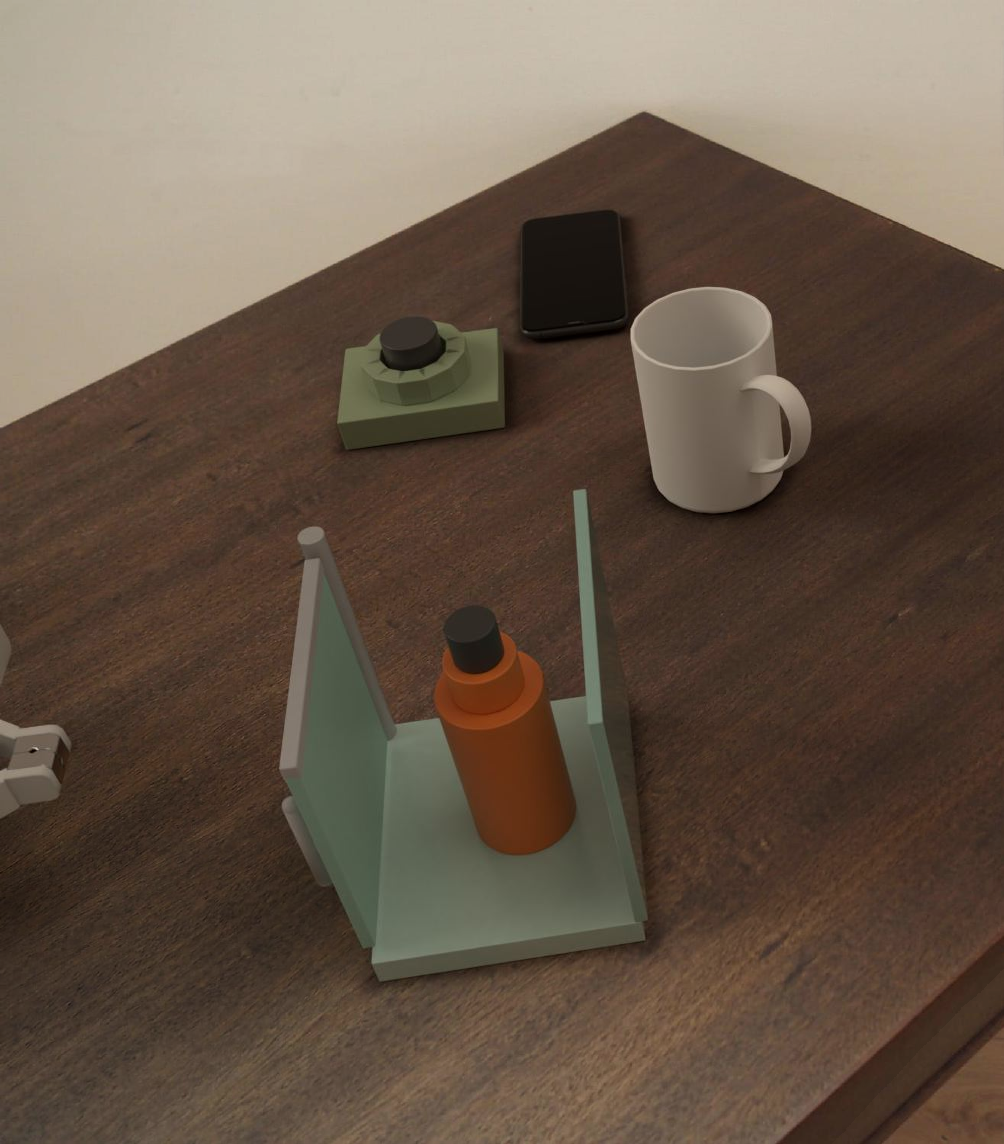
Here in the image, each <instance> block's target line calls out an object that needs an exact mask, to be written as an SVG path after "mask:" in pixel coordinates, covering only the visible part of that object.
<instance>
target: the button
mask: <svg viewBox="0 0 1004 1144" xmlns="http://www.w3.org/2000/svg"><path fill="white" fill-rule="evenodd" d="M433 321H434V320H432V319H431V318H428V317H424V316H419V315H418V316H417V315H416V316H415V315H414V316H406V317H401V318H399V319H396V320H394V321H392V322H390V323H388V324H387V325H386V326H384V328H383V329H382V330H381V332H380V333H379V334H380V337H379V340H380V343H381V347H382V350H383V353H384V357H385V360H386V363H387V365H388V366H389V367H390V368H392V369H394V370H398V371H410V370H417V369H422V368H424V367H426V366H428V365H431V364H433V363H435V362H437V361H438V360H439V358H440V357H441V355H442V351H443V348H442V344H441V341H440V337H439V333H438V329H437V326H436V324H435V323H434V322H433Z"/></svg>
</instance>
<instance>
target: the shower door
mask: <svg viewBox="0 0 1004 1144" xmlns="http://www.w3.org/2000/svg"><path fill="white" fill-rule="evenodd" d="M303 563H304V564H303V569H302V577H301V578H302V579H301V585H300V586H301V587H300V594H299V603H298V611H297V619H296V627H295V635H294V644H293V650H292V651H293V652H292V659H291V660H292V661H291V669H290V677H289V686H288V694H287V701H286V702H287V703H286V708H285V709H286V711H285V716H284V717H285V718H284V726H283V734H282V743H281V751H280V759H279V768H278V769H279V772H280V774H281V777H282V778H283V780H284V781H283V782H286V784H287V786H288V789H289V791H290V793H291V795H289V796H287V797H286V798H284V799H283V801H282V803H281V809H282V812H283V814H284V816H285V818H286V820H287V823H288V825H289V827H290V828H291V831H292V834H293V835H294V838H295V840H296V842H297V844H298V847H299V848H300V851H301V852H302V854H303V856H304V859H305V861H306V863H307V864H308V868H309V869H310V871H311V873H312V876H313V878H314V880H315V882H316V884H317V885H318V886H320V887H323V888H326V887H329V886H332V884H333V887H334V889H335V891H336V893H337V895H338V897H339V900H340V902H341V904H342V906H343V908H344V911H345V912H346V915H347V917H348V920H349V922H350V923H351V925H352V929H353V930H354V932H355V934H356V936H357V939H358V941H359V944H360V945H361V947H362V949H366V948H372V947H374V946H375V945H376V930H377V913H378V896H379V878H380V861H381V844H382V826H383V809H384V792H385V774H386V757H387V738H386V736H385V733H384V730H383V728H382V725H381V722H380V720H379V717H378V714H377V712H376V709H375V706H374V704H373V701H372V698H371V696H370V693H369V691H368V688H367V685H366V683H365V680H364V677H363V675H362V672H361V669H360V667H359V664H358V661H357V659H356V656H355V653H354V651H353V648H352V646H351V643H350V640H349V638H348V635H347V632H346V630H345V627H344V624H343V622H342V619H341V616H340V614H339V611H338V608H337V606H336V603H335V601H334V598H333V595H332V593H331V590H330V587H329V585H328V582H327V579H326V577H325V574H324V568H323V566H322V563H321V560H320V559H319V558H316V559H309V560H305V559H304V562H303Z"/></svg>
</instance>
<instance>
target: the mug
mask: <svg viewBox="0 0 1004 1144" xmlns="http://www.w3.org/2000/svg"><path fill="white" fill-rule="evenodd" d="M774 339H775V338H774V328H773V320H772V314H771V312H770V311H769V309H768V307H767V306H766V304H765V303H763V302H762V301H760V300H759V298H757V297H756V296H753V295H751V294H749V293H747V292H744V291H741V290H737V289H732V288H729V287H719V286H718V287H717V286H703V287H702V286H701V287H693V288H687V289H683V290H679V291H675V292H672V293H669V294H667V295H665V296H663V297H660V298H657V299H655V301H653V302H651V303H650V304H649V305H647V306H646V307H644V308H643V309H642V310H641V311H640V313H639V314H638V315H637V316H636V317H635V318H634V321H633V323H632V325H631V328H630V344H631V351H632V356H633V362H634V368H635V375H636V382H637V386H638V392H639V393H638V394H639V400H640V404H641V411H642V417H643V424H644V429H645V436H646V441H647V447H648V453H649V459H650V466H651V471H652V472H651V473H652V477H653V481H654V484H655V485H656V488H657V489H658V491H659V492H660V493H661V494H662V495H663V497H665V498H666V500H668V502H670V503H672V504H674V505H676V506H677V507H679V508H681V509H684V510H688V511H691V512H694V513H704V514H722V513H728V512H729V513H731V512H734V511H738V510H742V509H745V508H748V507H750V506H752V505H754V504H756V503H758V502H761V501H763V499H764V498H766V497H768V495H769V494H771V493H772V492H773V491H774V490H775V488H776V487H777V485H778V484H779V482H780V481H781V479H782V476H783V473H784V471H785V470H787V469H789V468H790V467H793V465H795V464H797V463H798V462H799V461H800V460H801V459H802V458H803V457H804V456H805V454H806V452H807V450H808V447H809V445H810V442H811V436H812V420H811V419H812V418H811V415H810V410H809V406H808V405H807V403H806V400H805V398H804V396H803V395H802V394H801V392H800V391H799V389H798V388H797V387H796V386H795V385H794V384H793V383H792V382H791V381H789V380H787V379H786V378H784V377H781V376H778V375H777V373H778V372H777V363H776V352H775V340H774ZM780 407H781V408H782V409H783V411H784V414H785V416H786V418H787V419H788V424H789V429H790V445H789V446H790V447H789V450H788V452H787V455H785V454H784V453H785V452H784V443H783V442H784V441H783V440H784V439H783V432H782V431H783V429H782V421H781V420H782V419H781V409H780Z"/></svg>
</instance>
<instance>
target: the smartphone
mask: <svg viewBox="0 0 1004 1144" xmlns="http://www.w3.org/2000/svg"><path fill="white" fill-rule="evenodd" d="M519 229H520V231H519V234H520V235H519V239H520V240H519V305H518V307H519V332H520V334H521V336H522V337H523V338H525V339H527V340H542V339H549V338H550V339H551V338H559V337H566V336H573V335H581V334H589V333H597V332H605V331H612V330H613V331H614V330H617V329H618V330H619V329H621V328H623V327H624V326H626V325H627V324H628V323H629V319H630V313H629V312H630V311H629V301H628V299H629V297H628V284H627V278H626V277H627V276H626V266H625V256H624V255H625V254H624V243H623V242H624V241H623V231H622V218H621V215H620V213H619V212H618V211H616V210H615V209H597V210H590V211H581V212H575V213H566V214H558V215H551V216H543V217H542V216H541V217H535V218H530V219H527V220H525V221H523V222H522V224H521V226H520V228H519Z"/></svg>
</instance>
